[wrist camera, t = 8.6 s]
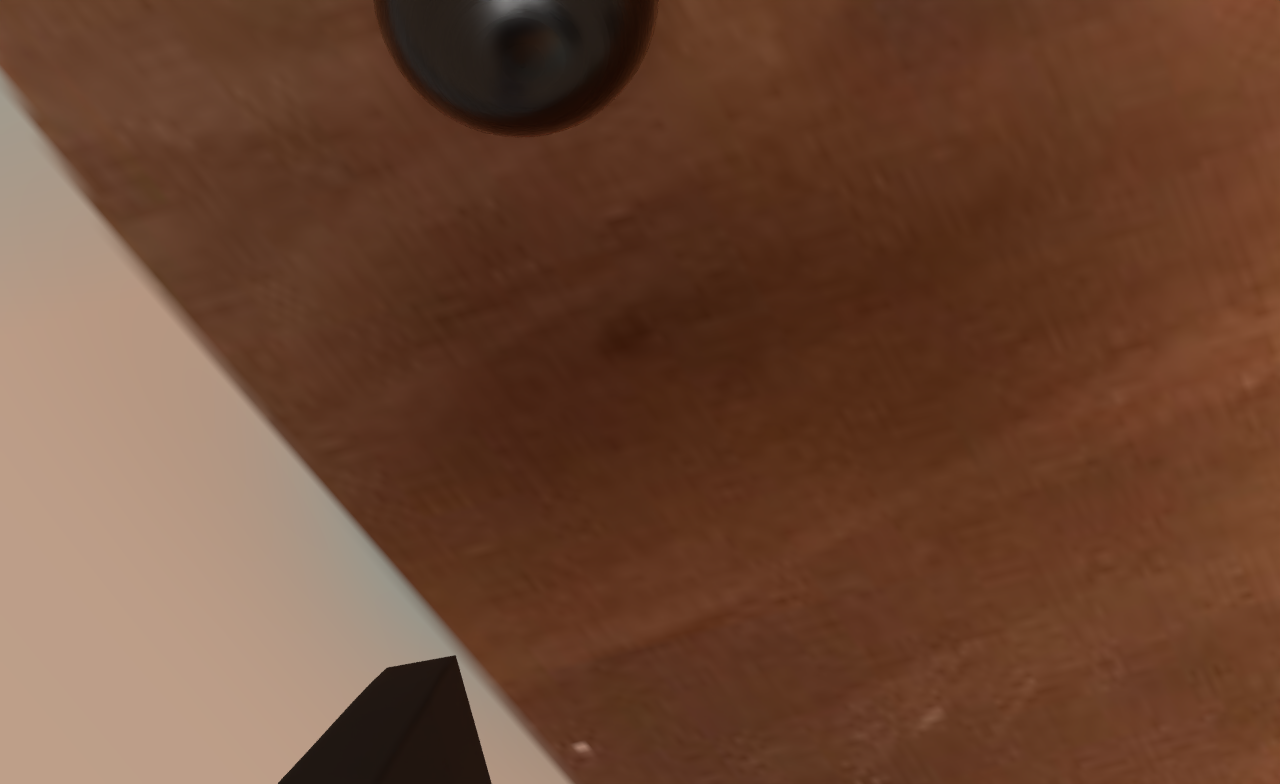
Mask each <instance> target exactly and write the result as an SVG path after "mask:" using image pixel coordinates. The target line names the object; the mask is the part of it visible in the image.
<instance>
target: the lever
mask: <svg viewBox="0 0 1280 784" xmlns="http://www.w3.org/2000/svg"><path fill="white" fill-rule="evenodd" d="M658 2H659V0H374V7H375V13H376V17H377V20H378V24H379V28H380V31H381V34H382V37H383V40H384V42H385V44H386V47H387V49H388V51H389V53H390V55H391V57H392V59H393V60H394V62H395V64H396V65H397V67H398V69H399V70H400V72H401V73H402V74H403V76H404V77H405V78H406V80H407V81H408V82H409V83H410V85H411V86H412V87H413V89H414V90H416V91H417V92H418V93H419V94H420V95H421V96H422V97H423V98H424V99H425V100H426V101H427V102H428V103H430V104H431V105H432V106H434V107H435V108H436V109H437V110H439V111H440V112H441V113H443V114H444V115H446V116H448V117H449V118H451V119H453V120H455V121H456V122H458V123H460V124H463V125H465V126H467V127H469V128H472V129H475V130H478V131H481V132H484V133H489V134H494V135H499V136H507V137H535V136H542V135H548V134H552V133H556V132H560V131H563V130H566V129H569V128H571V127H574V126H576V125H578V124H580V123H582V122H584V121H586V120H588V119H590V118H591V117H593V116H594V115H596V114H597V113H599V112H600V111H601V110H603V109H604V108H605V107H606V106H607V105H609V104H610V103H611V102H612V101H613V100H614V99H615V98H616V97H617V96H618V95H619V94H620V93H621V92H622V91H623V90H624V88H625V87H626V86H627V85H628V84H629V82H630V81H631V79H632V78H633V76H634V75H635V73H636V72H637V70H638V69H639V67H640V65H641V63H642V61H643V59H644V56H645V54H646V52H647V50H648V48H649V45H650V42H651V39H652V36H653V33H654V28H655V23H656V18H657V12H658Z"/></svg>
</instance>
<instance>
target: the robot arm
mask: <svg viewBox="0 0 1280 784" xmlns="http://www.w3.org/2000/svg"><path fill="white" fill-rule="evenodd" d="M278 784H491V780H490V776H489V773H488V770H487V766H486V762H485V759H484V755H483V752H482V748H481V745H480V741H479V737H478V734H477V730H476V726H475V723H474V719H473V716H472V712H471V709H470V705H469V701H468V698H467V694H466V691H465V687H464V684H463V680H462V676H461V673H460V669H459V666H458V662H457V659H456V656H450V657H444V658H439V659H433V660H427V661H422V662H416V663H411V664H405V665H400V666H394V667H389V668H386V669H385V670H384V671H383V672H382V673H381V674H380V675H379V676H378V677H377V678H376V679H374V681H372V682H371V684H369V686H368V687H367V688H366V689H365V690H364V691H363V692H362V693H361V694H360V695H359V696H358V697H357V698H356V699H355V700H354V701H353V702H352V704H351V705H350V706H349V707H348V708H347V709H346V710H345V711H344V712H343V713H342V714H341V715H340V717H339V718H338V719H337V720H336V721H335V722H334V723H333V724H332V725H331V726H330V727H329V729H328V730H327V731H326V732H325V733H324V734H323V735H322V736H321V738H319V740H318V741H317V742H316V743H315V744H314V745H313V746H312V747H311V748H310V749H309V750H308V752H307V753H306V754H305V755H304V756H303V757H302V758H301V759H300V760H299V761H298V762H297V763H296V764H295V766H294V767H293V768H292V769H291V770H290V771H289V772H288V773H287V774H286V775H285V776H284V777H283V778H282V779H281V781H280V782H279V783H278Z"/></svg>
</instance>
